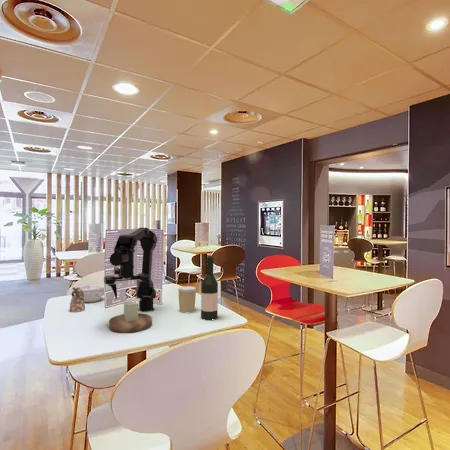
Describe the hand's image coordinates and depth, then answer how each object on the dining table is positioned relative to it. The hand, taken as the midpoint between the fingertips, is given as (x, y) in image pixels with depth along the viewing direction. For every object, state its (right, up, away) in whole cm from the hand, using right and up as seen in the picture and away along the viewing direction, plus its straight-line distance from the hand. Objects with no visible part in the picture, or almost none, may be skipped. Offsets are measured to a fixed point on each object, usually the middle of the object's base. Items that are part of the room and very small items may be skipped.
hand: (126, 297), depth 137 cm
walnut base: (+3, -12, -4) cm, 13 cm away
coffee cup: (+25, -12, +21) cm, 35 cm away
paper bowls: (-34, -12, +40) cm, 54 cm away
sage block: (+3, -9, -4) cm, 10 cm away
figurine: (-32, -12, +19) cm, 39 cm away
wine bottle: (+37, -12, +10) cm, 40 cm away
